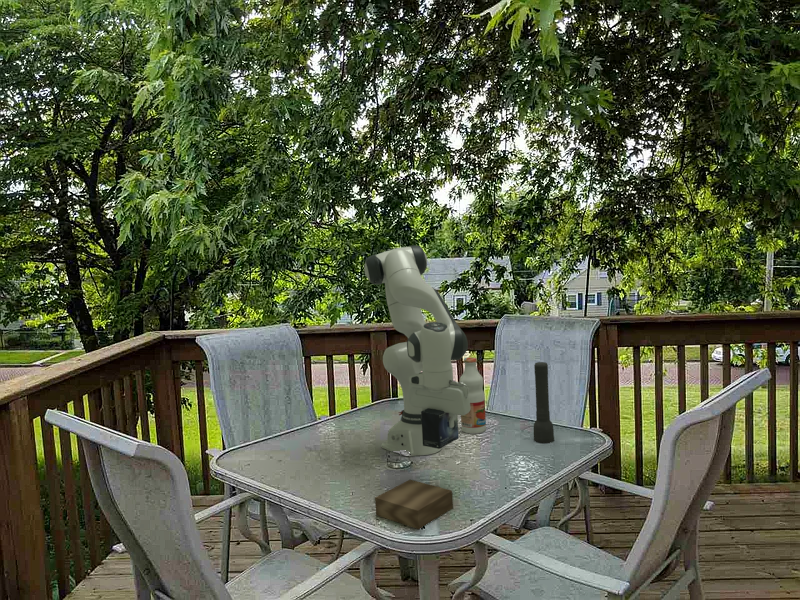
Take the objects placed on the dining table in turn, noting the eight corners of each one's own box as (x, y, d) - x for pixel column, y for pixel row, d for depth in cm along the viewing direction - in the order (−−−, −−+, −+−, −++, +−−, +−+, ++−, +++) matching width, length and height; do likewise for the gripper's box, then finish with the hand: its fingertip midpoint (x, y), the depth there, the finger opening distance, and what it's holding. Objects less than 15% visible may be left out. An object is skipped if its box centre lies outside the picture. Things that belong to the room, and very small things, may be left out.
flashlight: (556, 442, 218) (551, 436, 225) (553, 364, 215) (548, 360, 222) (536, 443, 218) (531, 437, 225) (533, 365, 215) (528, 361, 222)
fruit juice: (463, 426, 243) (460, 356, 241) (487, 426, 241) (484, 356, 238) (459, 433, 234) (455, 361, 232) (484, 434, 232) (480, 361, 229)
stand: (376, 515, 168) (374, 497, 168) (411, 496, 180) (410, 479, 179) (418, 529, 159) (417, 510, 158) (453, 508, 170) (452, 490, 170)
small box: (440, 449, 175) (438, 413, 174) (421, 446, 179) (419, 411, 178) (460, 438, 184) (457, 404, 183) (441, 435, 188) (439, 401, 187)
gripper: (473, 380, 175) (475, 427, 177) (417, 372, 188) (419, 416, 190) (461, 385, 170) (463, 434, 172) (404, 377, 184) (406, 422, 185)
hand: (439, 424), depth 181 cm, fingers closed on small box, 6 cm apart
